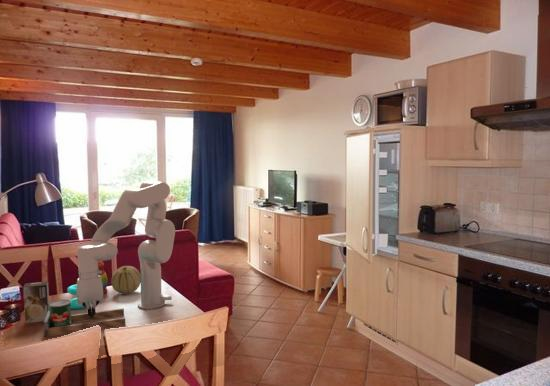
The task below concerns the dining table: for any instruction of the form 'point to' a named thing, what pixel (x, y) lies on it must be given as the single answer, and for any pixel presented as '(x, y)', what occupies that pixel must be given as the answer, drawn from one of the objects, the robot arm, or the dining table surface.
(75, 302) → the donuts
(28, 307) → the coffee box
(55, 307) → the canned tomato
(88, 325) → the bay
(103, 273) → the stacking bear
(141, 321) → the dining table surface
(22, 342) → the dining table surface
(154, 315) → the dining table surface
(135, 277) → the cantaloupe
